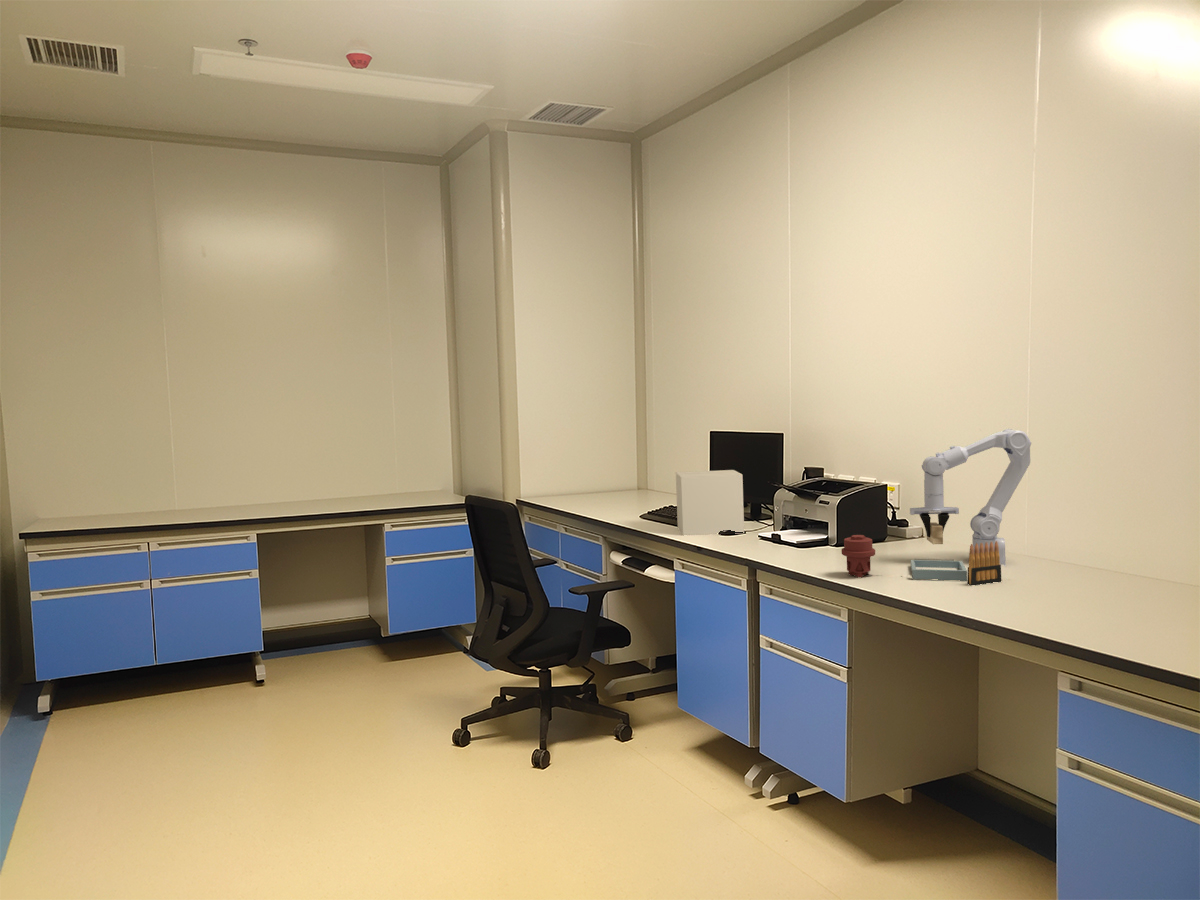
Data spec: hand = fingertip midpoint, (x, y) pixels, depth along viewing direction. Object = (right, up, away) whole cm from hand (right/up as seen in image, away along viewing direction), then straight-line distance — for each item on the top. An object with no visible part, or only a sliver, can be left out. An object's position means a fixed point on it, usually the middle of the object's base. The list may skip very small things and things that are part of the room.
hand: (934, 536), depth 274 cm
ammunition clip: (+5, -11, -25) cm, 28 cm away
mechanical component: (-27, -11, -9) cm, 30 cm away
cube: (-60, -7, +87) cm, 106 cm away
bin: (-4, -10, -13) cm, 17 cm away
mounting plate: (+1, -9, +1) cm, 9 cm away
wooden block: (0, -2, 0) cm, 2 cm away
